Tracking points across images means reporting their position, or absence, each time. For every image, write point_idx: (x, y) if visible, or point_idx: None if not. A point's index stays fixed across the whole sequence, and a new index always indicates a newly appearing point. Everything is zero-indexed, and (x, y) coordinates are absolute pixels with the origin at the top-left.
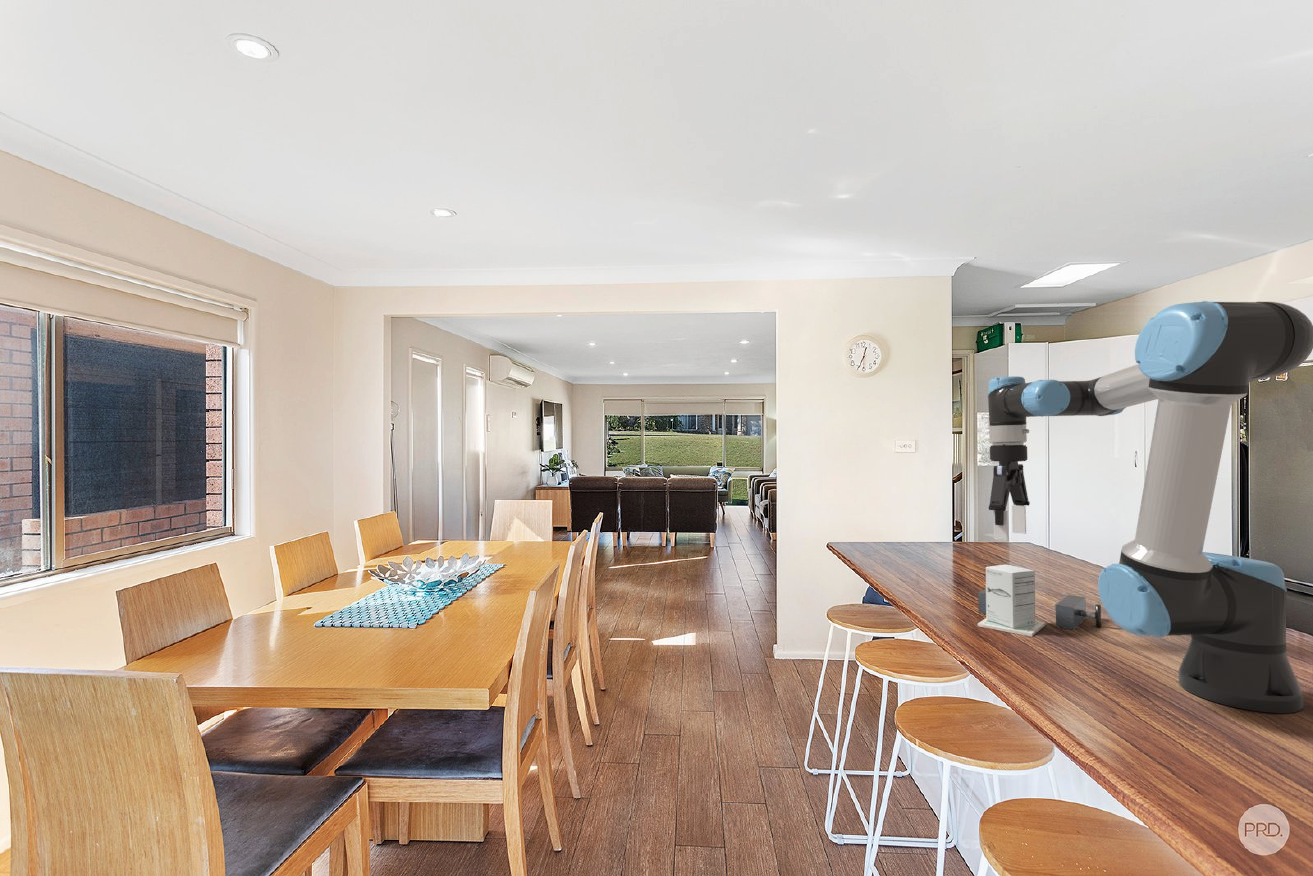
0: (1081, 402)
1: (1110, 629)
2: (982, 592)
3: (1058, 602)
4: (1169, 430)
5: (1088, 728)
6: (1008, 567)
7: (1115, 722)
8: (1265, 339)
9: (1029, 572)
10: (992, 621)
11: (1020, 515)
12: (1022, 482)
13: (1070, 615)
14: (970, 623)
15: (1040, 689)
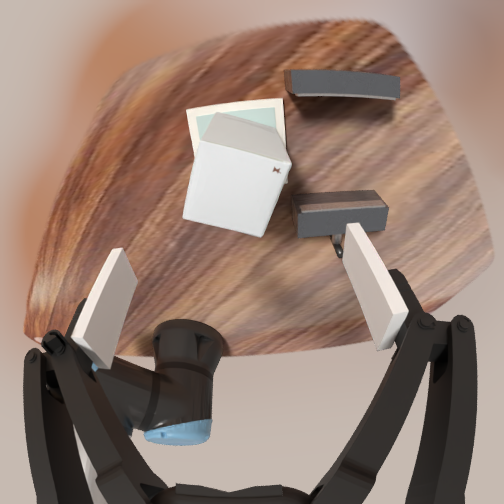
0: None
1: (329, 246)
2: (299, 77)
3: (318, 212)
4: None
5: (44, 296)
6: (240, 187)
7: (64, 304)
8: None
9: (240, 231)
10: None
11: (367, 302)
12: (418, 457)
13: (295, 225)
14: (195, 91)
15: (58, 261)
